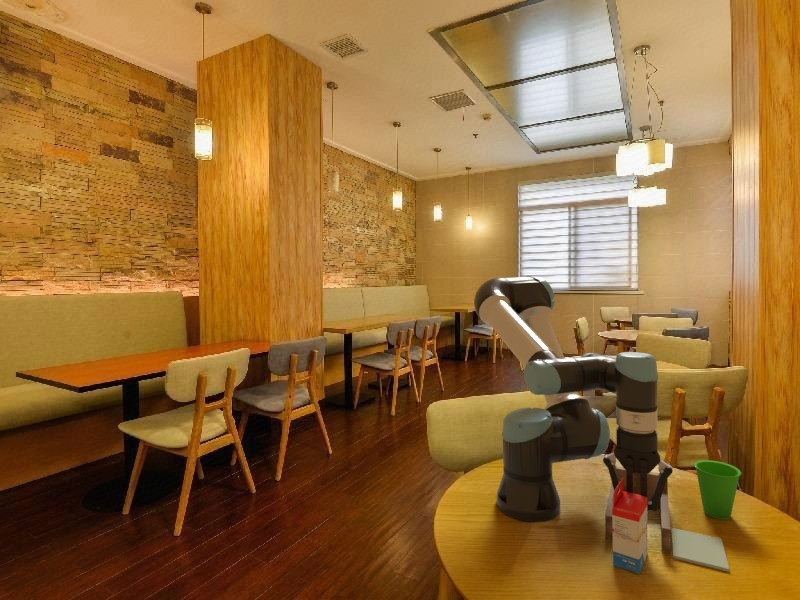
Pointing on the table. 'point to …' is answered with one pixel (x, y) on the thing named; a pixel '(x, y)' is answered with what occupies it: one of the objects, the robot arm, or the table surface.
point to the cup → (717, 487)
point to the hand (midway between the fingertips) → (637, 538)
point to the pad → (699, 549)
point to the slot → (663, 503)
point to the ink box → (629, 529)
